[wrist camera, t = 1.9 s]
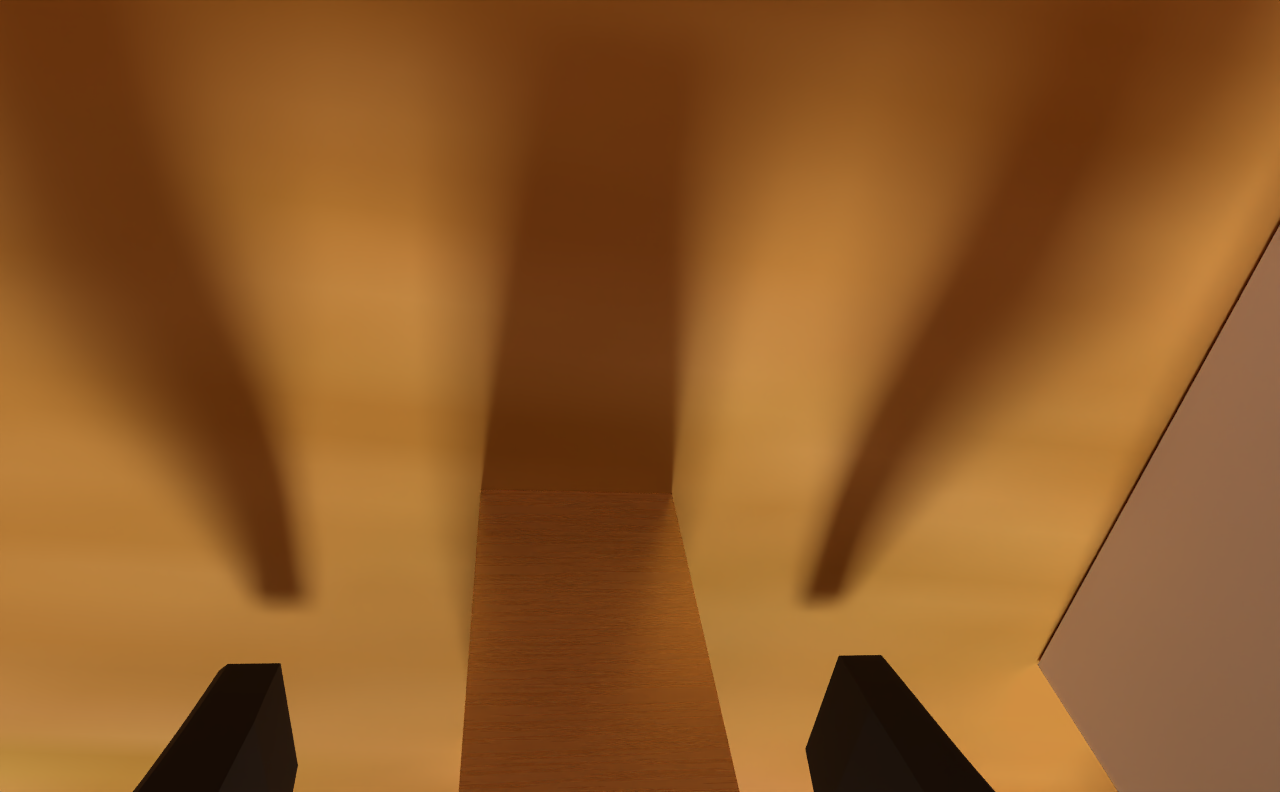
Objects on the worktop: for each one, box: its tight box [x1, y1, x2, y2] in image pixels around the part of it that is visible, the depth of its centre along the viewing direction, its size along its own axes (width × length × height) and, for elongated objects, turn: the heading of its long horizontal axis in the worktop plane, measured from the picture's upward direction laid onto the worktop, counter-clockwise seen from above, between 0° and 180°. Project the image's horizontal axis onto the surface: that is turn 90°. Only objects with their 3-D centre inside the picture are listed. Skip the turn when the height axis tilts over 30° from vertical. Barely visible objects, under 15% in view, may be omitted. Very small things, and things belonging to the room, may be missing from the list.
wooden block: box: [459, 490, 739, 792], centre depth 10 cm, size 5×2×5 cm, turn 173°
